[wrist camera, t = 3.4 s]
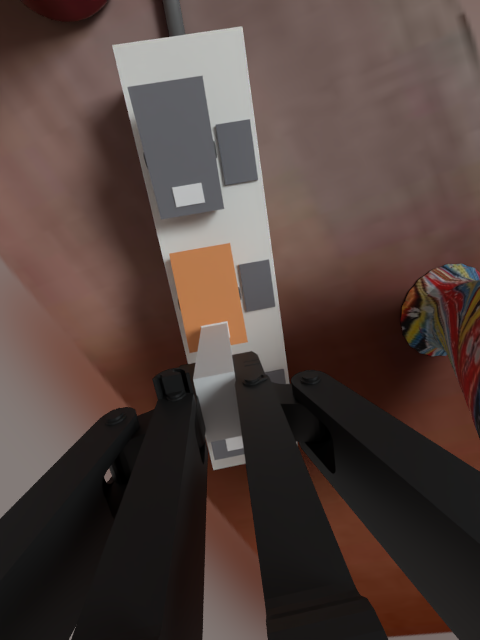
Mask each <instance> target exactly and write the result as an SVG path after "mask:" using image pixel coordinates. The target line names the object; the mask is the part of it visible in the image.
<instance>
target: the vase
mask: <svg viewBox="0 0 480 640" xmlns="http://www.w3.org/2000/svg"><path fill="white" fill-rule="evenodd" d="M400 322H401V326H402V332H403V336H404V337H405V338H406V340H407V342H408V344H409V346H411V347H413V348H414V349H416V350H417V351H418V352H419V353H422V354H427V355H429V356H446V355H448V357H449V359H450V362H451V364H452V367H453V369H454V372H455V374H456V377H457V379H458V382H459V384H460V387H461V389H462V392H463V394H464V397H465V400H466V403H467V405H468V408H469V411H470V414H471V416H472V419H473V422H474V424H475V427H476V430H477V433H478V435H479V438H480V273H479V272H478V271H477V270H476V269H475V268H472V267H468V266H466V265H464V264H455V265H454V264H446V265H444V266H442V267H440V268H436V269H433V270H431V271H430V272H429V273H428V274H426V275H425V276H423V277H422V278H420V279H419V280H418V281H417V283H416V284H415V286H414V287H413V288H412V289H411V290H410V291H409V292H408V295H407V298H406V300H405V302H404V304H403V306H402V315H401V320H400Z"/></svg>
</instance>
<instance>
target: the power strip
mask: <svg viewBox="0 0 480 640" xmlns="http://www.w3.org/2000/svg"><path fill="white" fill-rule="evenodd" d="M163 5H164V10H165V15H166V21H167V26H168V31H169V36H170V37H166V38H159V39H152V40H145V41H138V42H131V43H124V44H117V45H112V47H113V51H114V55H115V59H116V64H117V68H118V72H119V76H120V80H121V85H122V89H123V93H124V97H125V101H126V106H127V110H128V114H129V118H130V122H131V127H132V131H133V135H134V139H135V143H136V148H137V152H138V156H139V160H140V164H141V169H142V173H143V177H144V181H145V185H146V189H147V194H148V198H149V202H150V206H151V210H152V215H153V219H154V223H155V227H156V231H157V236H158V240H159V244H160V248H161V252H162V257H163V261H164V265H165V269H166V273H167V278H168V282H169V286H170V290H171V294H172V299H173V303H174V307H175V311H176V315H177V320H178V324H179V328H180V332H181V336H182V341H183V345H184V349H185V353H186V357H187V362H188V364H191V363H196V357H197V352H193V353H189V348H188V343H187V338H186V334H185V329H184V324H183V319H182V314H181V311H180V309H179V305H178V295H177V290H176V285H175V280H174V275H173V270H172V266H171V261H170V256H169V254H170V253H175V252H181V251H187V250H192V249H198V248H204V247H210V246H215V245H221V244H227V243H230V245H231V251H232V257H233V262H234V268H235V273H236V279H237V284H238V287H239V288H240V293H241V300H240V301H241V307H242V312H243V318H244V323H245V329H246V335H247V340H248V342H246V343H241V344H235V345H231V349H232V355H234V354H239V353H244V352H250V351H252V352H254V353H256V354H258V357H259V360H260V362H261V365H262V367H263V370H264V372H265V374H266V375H268V376H269V377H270V380H271V382H274V383H278V384H289V376H288V369H287V361H286V353H285V346H284V338H283V331H282V323H281V316H280V308H279V301H278V293H277V285H276V278H275V270H274V263H273V255H272V248H271V240H270V233H269V225H268V217H267V210H266V202H265V195H264V187H263V180H262V172H261V165H260V157H259V149H258V142H257V134H256V127H255V119H254V112H253V104H252V97H251V89H250V81H249V74H248V66H247V59H246V51H245V44H244V36H243V29H242V27H235V28H228V29H221V30H214V31H207V32H200V33H193V34H186V35H185V30H184V25H183V19H182V14H181V8H180V2H179V0H163ZM197 76H203V82H204V88H205V94H206V100H207V106H208V112H209V119H210V125H211V131H212V137H213V141H215V145H216V151H217V158H216V161H217V168H218V174H219V180H220V186H221V192H222V198H223V204H224V209H221V210H215V211H209V212H203V213H197V214H191V215H185V216H180V217H174V218H168V219H162V220H161V217H160V213H159V209H158V205H157V201H156V197H155V194H154V190H153V186H152V182H151V178H150V174H149V170H148V168H147V166H146V163H145V160H144V155H143V152H144V151H143V147H142V143H141V139H140V135H139V131H138V127H137V123H136V119H135V115H134V111H133V108H132V104H131V100H130V96H129V92H128V88H127V87H130V86H137V85H144V84H150V83H157V82H164V81H170V80H177V79H184V78H190V77H197ZM205 437H206V433H205ZM206 441H207V437H206ZM296 443H297V442H296ZM207 445H208V450H209V454H210V458H211V462H212V466H213V470H217V469H221V468H226V467H231V466H236V465H241V464H246V462H245V455H244V454H243V455H238V456H233V457H229V458H224V459H219V460H214V455H213V450H212V445H211V442H209V443H208V441H207ZM297 446H298V444H297Z"/></svg>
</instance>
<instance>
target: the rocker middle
mask: <svg viewBox="0 0 480 640" xmlns="http://www.w3.org/2000/svg"><path fill="white" fill-rule="evenodd" d="M169 256H170V261H171V266H172V270H173V275H174V280H175V285H176V290H177V295H178V305H179V309H180V311H181V314H182V319H183V324H184V329H185V334H186V338H187V343H188V348H189V353H193V352H197V351H198V345H199V339H200V333H201V328H203V327H209V326H214V325H219V324H225V323H227V328H228V334H229V339H230V344H231V345H235V344H241V343H246V342H248V340H247V335H246V329H245V323H244V318H243V312H242V307H241V301H240V300H241V293H240V288H239V287H238V284H237V279H236V273H235V268H234V262H233V257H232V251H231V245H230V243H227V244H221V245H215V246H210V247H204V248H198V249H192V250H187V251H181V252H175V253H170V254H169Z"/></svg>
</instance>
